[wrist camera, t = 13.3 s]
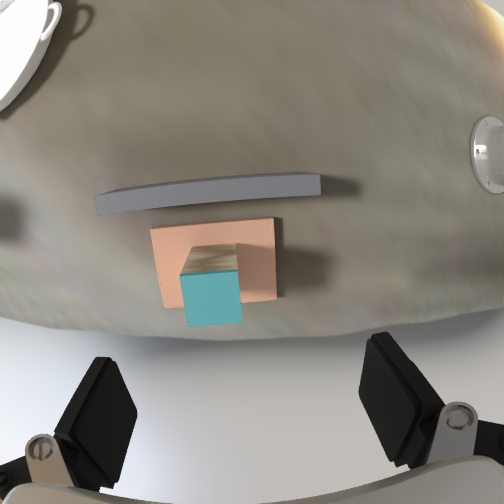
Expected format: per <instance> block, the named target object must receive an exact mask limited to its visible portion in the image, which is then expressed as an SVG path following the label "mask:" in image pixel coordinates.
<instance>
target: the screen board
mask: <svg viewBox="0 0 504 504" xmlns="http://www.w3.org/2000/svg"><path fill="white" fill-rule="evenodd" d="M312 195H321V185H320V174H315V173H308V172H290V173H269V174H252V175H238V176H225V177H214V178H203V179H193V180H184V181H175V182H167V183H159V184H151V185H144V186H137V187H130V188H123V189H117V190H113V191H109V192H106V193H103V194H99V195H96V196H95V202H96V209H97V216H98V215H105V214H112V213H119V212H127V211H135V210H143V209H151V208H160V207H169V206H178V205H188V204H198V203H208V202H220V201H232V200H245V199H259V198H274V197H291V196H312Z"/></svg>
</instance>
